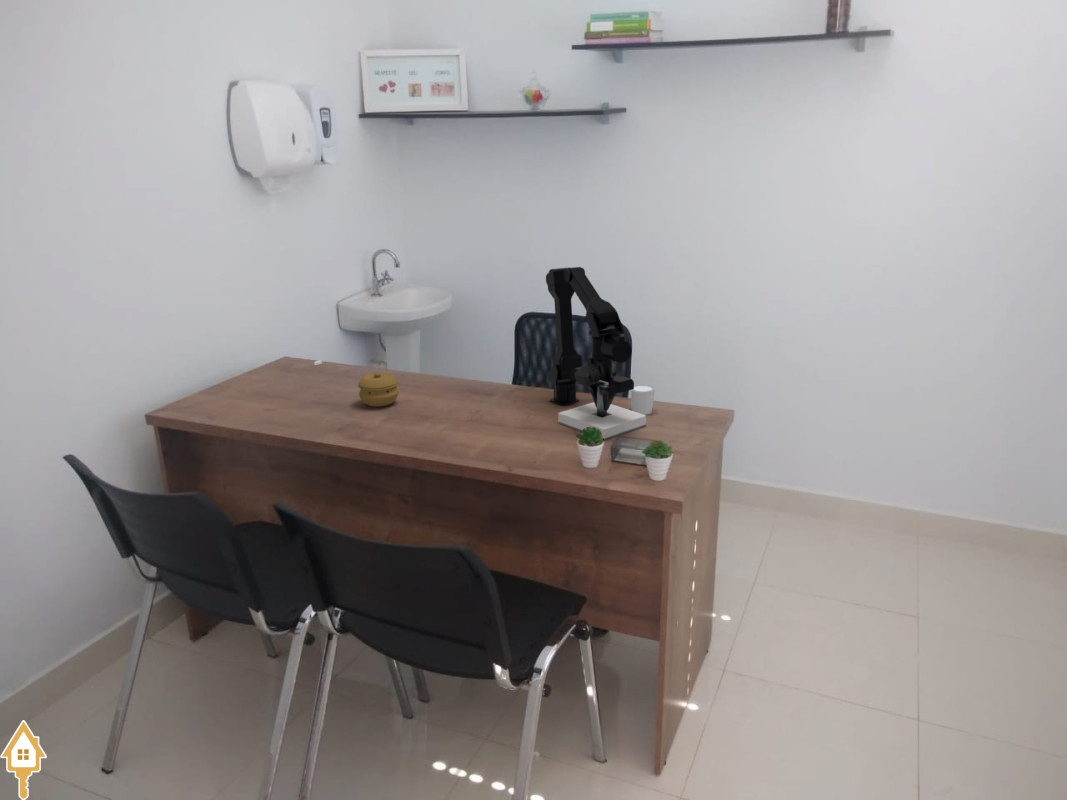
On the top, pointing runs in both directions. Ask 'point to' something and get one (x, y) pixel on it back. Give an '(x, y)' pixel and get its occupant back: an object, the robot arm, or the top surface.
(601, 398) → the steel pin
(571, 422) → the bore board
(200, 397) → the top surface
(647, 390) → the white cup
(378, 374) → the pot
